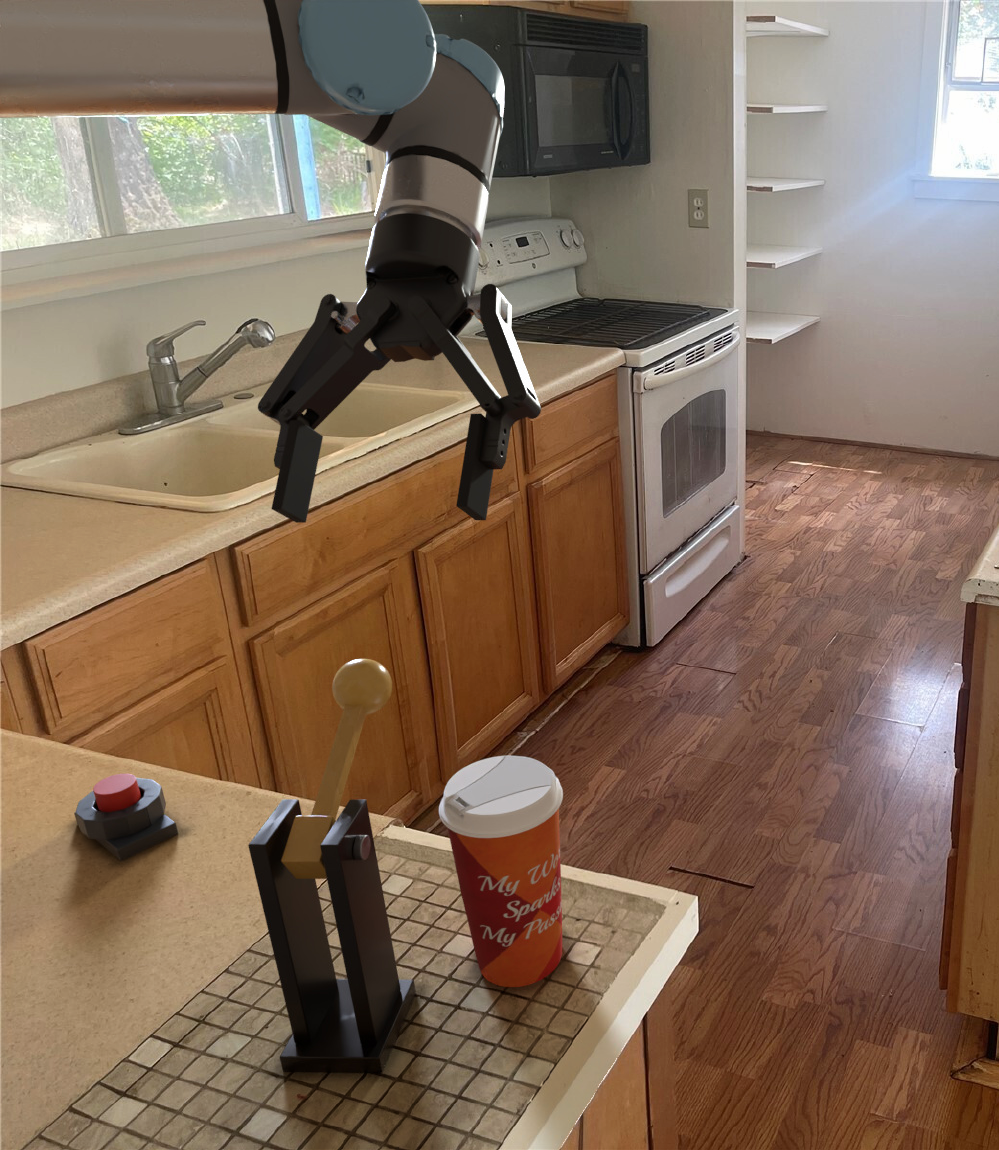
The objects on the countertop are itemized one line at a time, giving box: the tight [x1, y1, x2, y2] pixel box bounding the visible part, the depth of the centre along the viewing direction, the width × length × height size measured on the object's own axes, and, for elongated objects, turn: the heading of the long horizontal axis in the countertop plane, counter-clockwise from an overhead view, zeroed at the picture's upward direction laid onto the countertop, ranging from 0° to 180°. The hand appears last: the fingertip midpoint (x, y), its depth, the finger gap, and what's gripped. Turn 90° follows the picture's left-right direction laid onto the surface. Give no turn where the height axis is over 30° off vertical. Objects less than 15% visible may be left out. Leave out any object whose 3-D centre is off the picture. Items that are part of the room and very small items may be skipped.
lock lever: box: [281, 658, 393, 880], centre depth 65 cm, size 14×4×4 cm, turn 179°
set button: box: [92, 773, 141, 812], centre depth 86 cm, size 3×3×2 cm
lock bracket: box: [247, 798, 417, 1074], centre depth 64 cm, size 6×6×16 cm
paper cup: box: [438, 755, 564, 988], centre depth 70 cm, size 8×8×14 cm
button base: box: [73, 777, 179, 862], centre depth 86 cm, size 8×6×3 cm
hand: (378, 515), depth 72 cm, fingers open, 13 cm apart
